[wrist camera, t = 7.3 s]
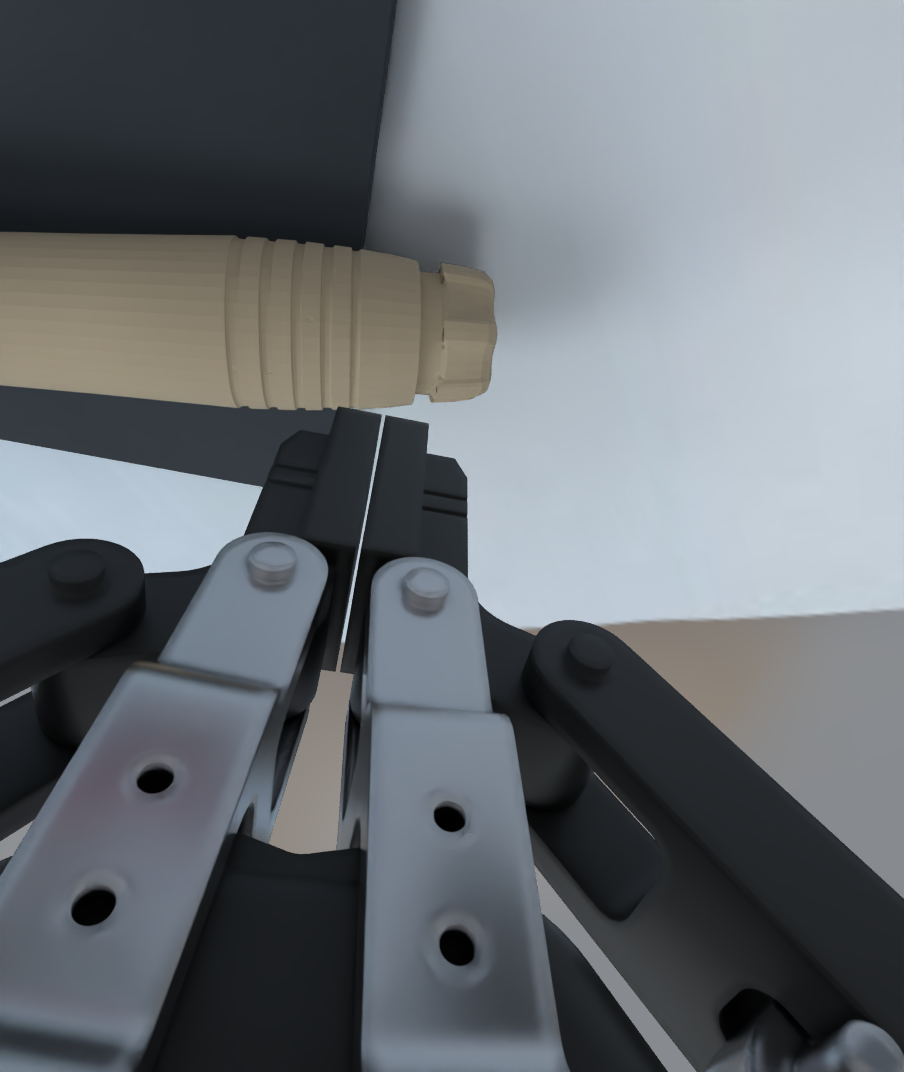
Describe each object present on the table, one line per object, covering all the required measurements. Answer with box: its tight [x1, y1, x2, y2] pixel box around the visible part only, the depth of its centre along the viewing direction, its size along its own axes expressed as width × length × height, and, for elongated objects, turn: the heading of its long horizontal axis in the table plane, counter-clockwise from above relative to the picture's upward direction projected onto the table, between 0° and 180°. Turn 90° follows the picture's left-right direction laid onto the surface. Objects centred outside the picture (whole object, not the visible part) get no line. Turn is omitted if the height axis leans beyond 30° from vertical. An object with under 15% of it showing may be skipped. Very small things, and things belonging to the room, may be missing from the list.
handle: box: [0, 232, 497, 410], centre depth 17 cm, size 5×6×15 cm
